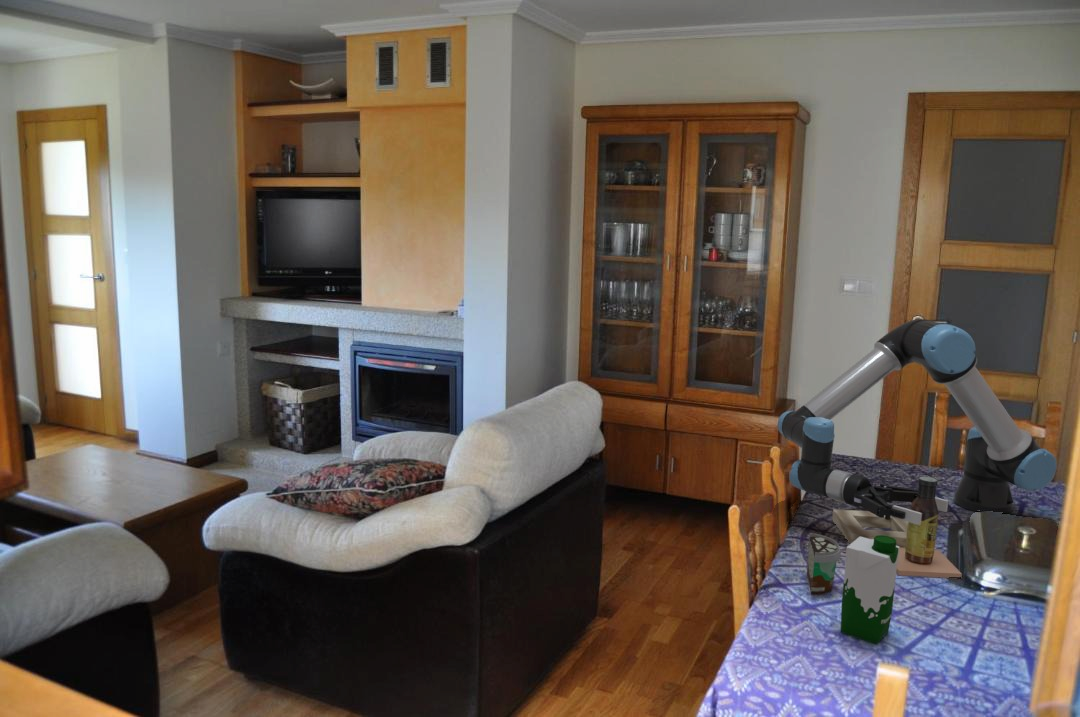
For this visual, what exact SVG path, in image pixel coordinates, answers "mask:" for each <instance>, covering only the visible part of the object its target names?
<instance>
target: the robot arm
mask: <svg viewBox="0 0 1080 717" xmlns="http://www.w3.org/2000/svg"><path fill="white" fill-rule="evenodd" d="M976 350H977V349H976V343H975V341H974V340H973V338H972V336H971V335H970V334H969V333H968V332H967V331H966V330H964V329H962V328H960V327H958V326H956V325H952V324H947V323H942V322H937V321H933V320H929V319H925V318H917V319H912V320H909V321H907V322H906V321H905V322H904V323H902V324H899V325H898V326H897V327H895V328H894V329H892V330H890V331H889V332H888V333H886V334H885V335H883V337H881V338H880V339H879V340H877V341H876V342H875V343H874V346H873V349H872V350H871V351H870V352H868V353H867V354H866V355H865V356H863V357H862V358H861V359H859V361H857V362H855V364H853V365H852V366H851V367H849V368H848V369H847V370H846V371H844V372H843V373H841V374H840V376H838V377H836V379H835V380H834V381H832V382H831V383H829V384H828V385H827V386H825V388H823V389H822V390H821V391H819V392H818V393H817V394H816V395H815V396H813V397H811V398H810V399H809V400H808V401H807V402H806V403H804V404H803V405H802V406H801V407H799V408H798V409H797V410H796V411H795V410H787V411H784V412H783V413H782V414H781V415H780V416H779V417H778V420H777V429H778V432H779V433H780V435H782V436H783V437H784V438H785V439H786V440H788V441H790V442H792V443H793V444H795V445H796V446H798V447H799V448H800V449H801V452H800V453H801V456H800V459H798V460H796V461H794V462H793V464H792V465H791V466H790V468H791V469H790V470H789V473H788V475H789V477H788V478H789V482H790V484H791V485H792V487H795V488H797V489H799V490H801V491H803V492H807V493H810V494H815V495H817V496H821V497H825V498H828V499H832V500H835V502H836V503H839V502H842V503H846V504H848V505H852V506H854V507H859V508H863V509H864V510H865V511H869V512H871V513H873V514H875V515H876V516H878V517H880V518H884V515H885V519H886V520H890V516H892V517H894V518H897V519H900V520H904V521H907V522H910V523H914V524H917V525H921V517H922V513H920V512H916V511H913V510H910V509H909V508H906V507H902V506H898V505H895V504H894V505H891V504H890V503H892V502H900V503H901V502H902V503H912V502H913V500H915V499H916V497H917V496H918V495H917V493H918V488H917V489H916V488H910V487H902V486H894V485H888V484H884V483H879V485H874V486H873V485H872V484H871V481H870V479H869V478H867V477H865V476H861V475H859V474H853V473H851V472H848V471H844V470H840V469H836V468H833V467H832V458H833V450H834V449H833V448H834V441H835V440H834V439H835V423H834V422H833V421H832V419H833V418H835V417H836V416H837V415H838V414H839V413H841V412H843V411H844V410H845V409H846V408H848V407H849V406H850V405H851V404H852V403H854V402H855V401H856V400H858V399H859V398H860V397H861V396H863V394H865V393H866V392H868V391H869V390H870V389H871V388H872V387H874V386H875V385H876V384H879V382H880V381H881V380H883V379H884V378H885V377H887V376H888V375H890V373H892V372H893V371H900V370H901V369H903V368H904V367H906V366H907V365H910V364H913V363H915V364H919V365H921V366H922V367H924V369H925V370H926V371H927V373H928V374H929V375H930V377H931V379H932V380H933V381H934V382H935V383H936V384H940V385H944V386H945V387H946V388H947V390H948V391H949V393H950V394H951V395H952V397H953V398H954V400H955V401H956V403H957V404H958V405H959V407H960V408H961V410H962V411H963V412H964V415H966V416H967V418H968V419H969V421H970V422H971V423H972V425H973V427H971V428H970V429H969V430H968V435H967V438H966V449H965V459H964V466H963V467H964V469H963V475H962V478H961V479H960V481H959V483H958V485H957V487H956V489H955V491H954V495H953V496H954V497H953V502H954V503H955V504H956V505H957V506H959V507H961V508H962V509H963V508H964V509H967V510H969V511H972V512H973V511H974V512H976V511H977V510H980V511H993V512H1003V513H1007V514H1009V513H1012V512H1013V510H1014V499H1013V498H1014V497H1013V494H1012V489H1011V486H1010V484H1011V485H1013V486H1016V487H1017V488H1018V489H1021V490H1022V489H1023V490H1025V491H1029V492H1034V491H1035V492H1036V491H1039V490H1042V489H1043V488H1046V486H1048V485H1049V484H1050V483H1051V482H1052V481H1053V479H1054V478H1055V475H1056V471H1057V468H1058V462H1057V459H1056V456H1055V455H1054V454H1053V453H1052V452H1050V451H1049V450H1047V449H1046V448H1042V447H1040V446H1039V444H1038V442H1037V441H1036V440H1035V438H1034V437H1033V436H1032V435H1031V433H1030V432H1029V431H1028V430H1026V429H1022V428H1019V427H1018V425H1017V423H1016V422H1015V421H1014V420H1013V418H1012V417H1011V416H1010V414H1009V412H1008V411H1007V410H1006V408H1005V407H1004V405H1003V404H1002V402H1001V401H1000V399H999V398H998V397H997V395H996V393H995V392H994V391H993V389H992V388H991V387H990V385H989V384H988V383H987V381H986V380H985V378H984V377H983V375H982V374H981V372H980V371H979V370H978V368H977V367H976V365H977V363H978V358H977V356H976V354H975V352H976ZM935 500H936V504H937V508H938V511H939V512H944V513H946V512H948V508H949V507H948V506H949V500H947V499H943V498H940V497H936V496H935Z"/></svg>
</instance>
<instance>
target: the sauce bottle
mask: <svg viewBox="0 0 1080 717" xmlns="http://www.w3.org/2000/svg"><path fill="white" fill-rule="evenodd" d="M917 483H918V487H917V489H918V493H917V495H918V496H917V497H916V499H915V500H913V502H910V503H911V505H910V509H909V510H913V511H916V512H920V513H922V517H921V525H917V524H914V523H910V522H908V530H907V538H906V547H905V551H906V552H905V557H906V558H907V559H908V560H910V561H912V562H916V563H920V564H926V563H931V562H932V560H933V556H934V550H935V549H936V539H937V533H938V532H937V531H938V525H939V524H938V522H939V515H940V513H939V512H940V511H939V510H938V508H937V504H936V500H935V497H936V491H937V486H938V479H936V478H934V477H931V476H919V478H918V482H917Z"/></svg>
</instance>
